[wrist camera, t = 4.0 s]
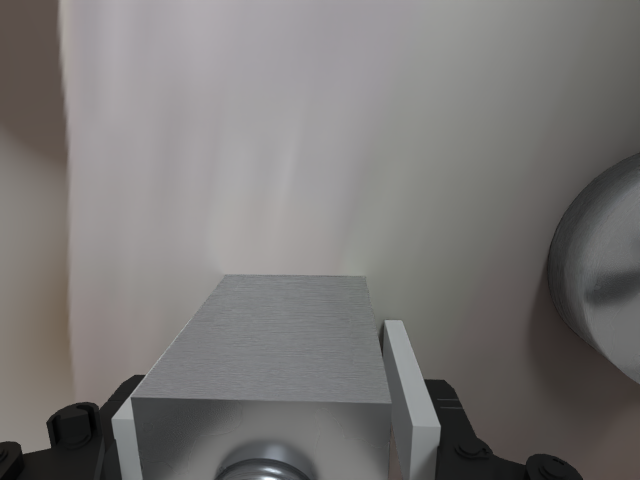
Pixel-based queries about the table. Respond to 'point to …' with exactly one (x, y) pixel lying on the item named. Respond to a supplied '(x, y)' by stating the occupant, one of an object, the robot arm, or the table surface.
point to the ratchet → (602, 266)
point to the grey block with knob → (270, 386)
